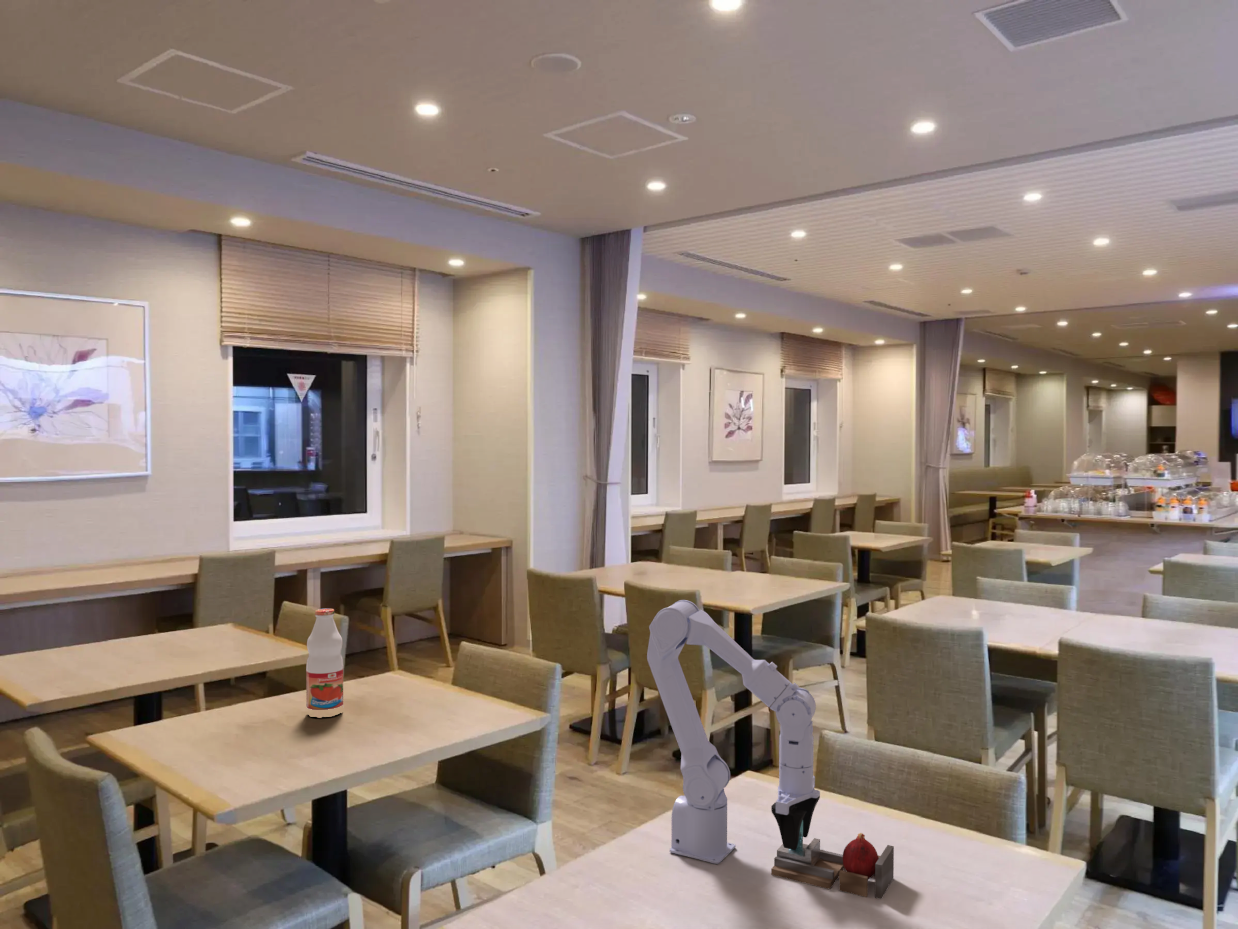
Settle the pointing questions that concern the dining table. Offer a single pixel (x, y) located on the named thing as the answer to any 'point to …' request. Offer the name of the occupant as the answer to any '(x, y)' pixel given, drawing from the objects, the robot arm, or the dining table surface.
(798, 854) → the ram
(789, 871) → the frame
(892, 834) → the dining table surface
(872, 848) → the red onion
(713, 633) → the robot arm
